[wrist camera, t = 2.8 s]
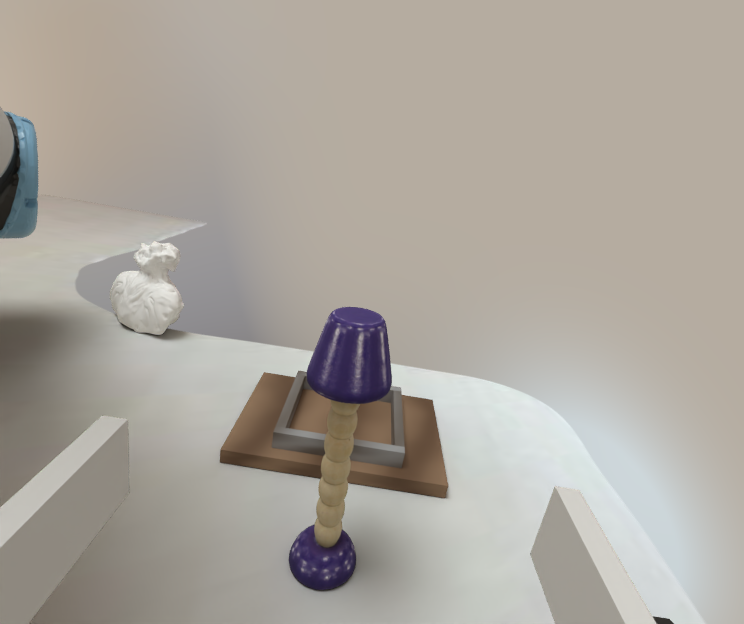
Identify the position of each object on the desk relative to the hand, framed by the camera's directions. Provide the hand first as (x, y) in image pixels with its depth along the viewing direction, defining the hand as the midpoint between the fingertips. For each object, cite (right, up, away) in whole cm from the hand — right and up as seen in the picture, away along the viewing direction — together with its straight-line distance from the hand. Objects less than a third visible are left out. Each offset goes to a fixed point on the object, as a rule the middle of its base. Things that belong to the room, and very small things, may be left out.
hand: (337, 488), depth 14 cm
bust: (-27, +4, +43) cm, 51 cm away
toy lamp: (-2, -10, +15) cm, 18 cm away
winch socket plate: (-2, -6, +28) cm, 28 cm away
